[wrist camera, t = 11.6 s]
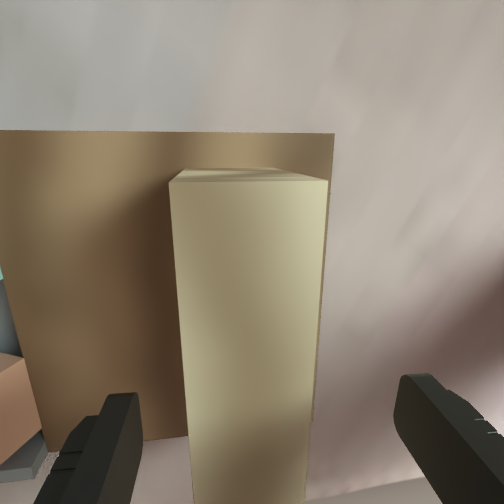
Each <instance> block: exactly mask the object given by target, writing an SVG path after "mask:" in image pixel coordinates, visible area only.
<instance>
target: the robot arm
mask: <svg viewBox="0 0 504 504" xmlns="http://www.w3.org/2000/svg"><path fill="white" fill-rule="evenodd" d="M394 423H395V427H396V430H397V432H398V434H399V436H400V438H401V439H402V441H403V442H404V444H405V446H406V447H407V449H408V450H409V452H410V453H411V455H412V456H413V458H414V460H415V461H416V463H417V464H418V466H419V467H420V469H421V470H422V472H423V474H424V475H425V477H426V478H427V480H428V481H429V483H430V484H431V486H432V488H433V489H434V491H435V492H436V494H437V495H438V497H439V498H440V500H441V502H442V503H443V504H504V437H503V436H502V435H501V434H498V433H497V430H496V429H495V428H494V427H493V426H492V425H491V424H490V423H489V422H488V421H485V420H484V417H483V416H482V415H481V414H480V413H479V412H478V411H477V410H476V409H475V408H474V407H473V406H472V405H471V404H470V403H469V402H467V401H466V400H464V399H463V398H461V397H460V396H458V395H457V394H455V393H453V392H452V391H450V390H446V389H445V388H444V387H443V386H442V385H441V384H440V383H439V382H438V381H437V380H436V379H435V378H434V377H433V376H432V375H430V374H428V373H424V374H409V375H403V376H402V377H401V379H400V383H399V388H398V393H397V398H396V403H395V409H394ZM142 447H143V429H142V421H141V413H140V405H139V397H138V393H137V392H130V393H115V394H109V395H108V396H107V397H106V400H105V402H104V404H103V406H102V409H101V411H100V413H99V415H92V416H86V417H85V418H84V419H83V420H82V421H81V422H80V423H79V424H78V425H77V426H76V427H75V428H74V429H73V430H72V431H71V432H70V433H69V435H68V437H67V439H66V441H65V443H64V445H63V447H62V449H61V451H60V454H59V457H57V459H56V461H55V463H54V465H53V466H52V468H51V472H50V475H48V476H47V478H46V480H45V482H44V484H43V486H42V488H41V490H40V492H39V494H38V496H37V498H36V500H35V501H34V503H33V504H130V501H131V497H132V493H133V489H134V485H135V480H136V476H137V472H138V468H139V464H140V460H141V455H142Z"/></svg>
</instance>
